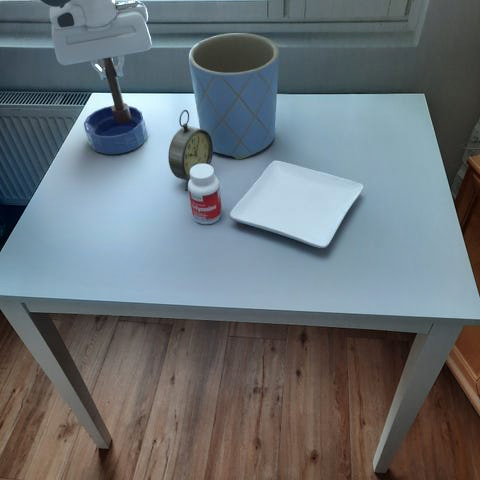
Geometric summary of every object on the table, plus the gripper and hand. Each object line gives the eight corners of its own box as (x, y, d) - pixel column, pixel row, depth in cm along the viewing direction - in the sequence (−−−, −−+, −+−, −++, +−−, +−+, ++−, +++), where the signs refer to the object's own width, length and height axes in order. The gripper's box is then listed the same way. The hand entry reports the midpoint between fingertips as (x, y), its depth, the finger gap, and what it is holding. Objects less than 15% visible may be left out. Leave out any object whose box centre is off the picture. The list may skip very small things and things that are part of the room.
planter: (183, 142, 115) (169, 56, 99) (235, 109, 123) (231, 25, 107) (240, 172, 107) (236, 83, 91) (293, 134, 115) (297, 47, 99)
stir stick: (115, 125, 112) (92, 42, 97) (113, 116, 114) (91, 34, 99) (132, 121, 112) (112, 39, 98) (130, 113, 115) (109, 31, 100)
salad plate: (273, 170, 107) (273, 157, 104) (363, 196, 100) (365, 182, 97) (227, 227, 96) (226, 214, 93) (325, 260, 89) (327, 247, 86)
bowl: (93, 161, 112) (86, 142, 108) (87, 130, 120) (81, 111, 116) (152, 149, 114) (147, 130, 110) (142, 119, 122) (138, 100, 118)
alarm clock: (189, 196, 102) (178, 127, 89) (169, 189, 104) (155, 120, 91) (216, 169, 108) (210, 100, 95) (197, 163, 110) (188, 94, 97)
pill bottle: (190, 225, 97) (183, 180, 88) (194, 205, 100) (188, 160, 92) (220, 225, 96) (215, 180, 87) (223, 206, 100) (219, 161, 91)
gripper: (142, -8, 97) (154, 62, 108) (41, 9, 95) (65, 78, 106) (147, 4, 94) (159, 74, 105) (43, 21, 91) (67, 92, 102)
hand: (111, 76), depth 105 cm, fingers closed on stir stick, 2 cm apart
